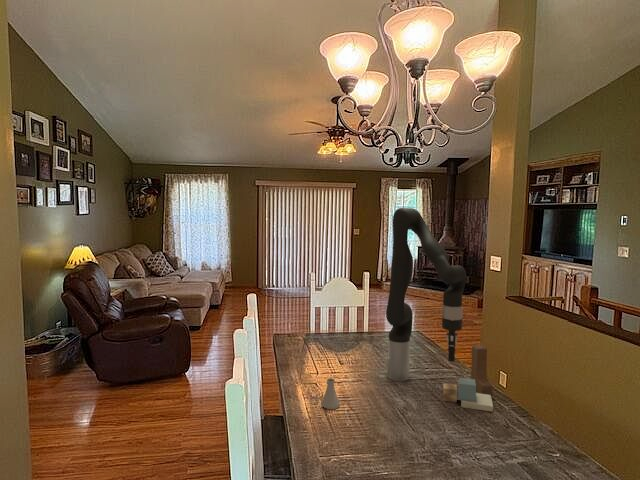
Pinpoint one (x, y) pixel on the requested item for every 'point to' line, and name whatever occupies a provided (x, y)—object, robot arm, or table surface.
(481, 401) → the foundation board
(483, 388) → the wooden block
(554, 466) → the table surface
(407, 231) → the robot arm
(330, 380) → the flask
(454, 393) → the oak block
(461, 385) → the cube
